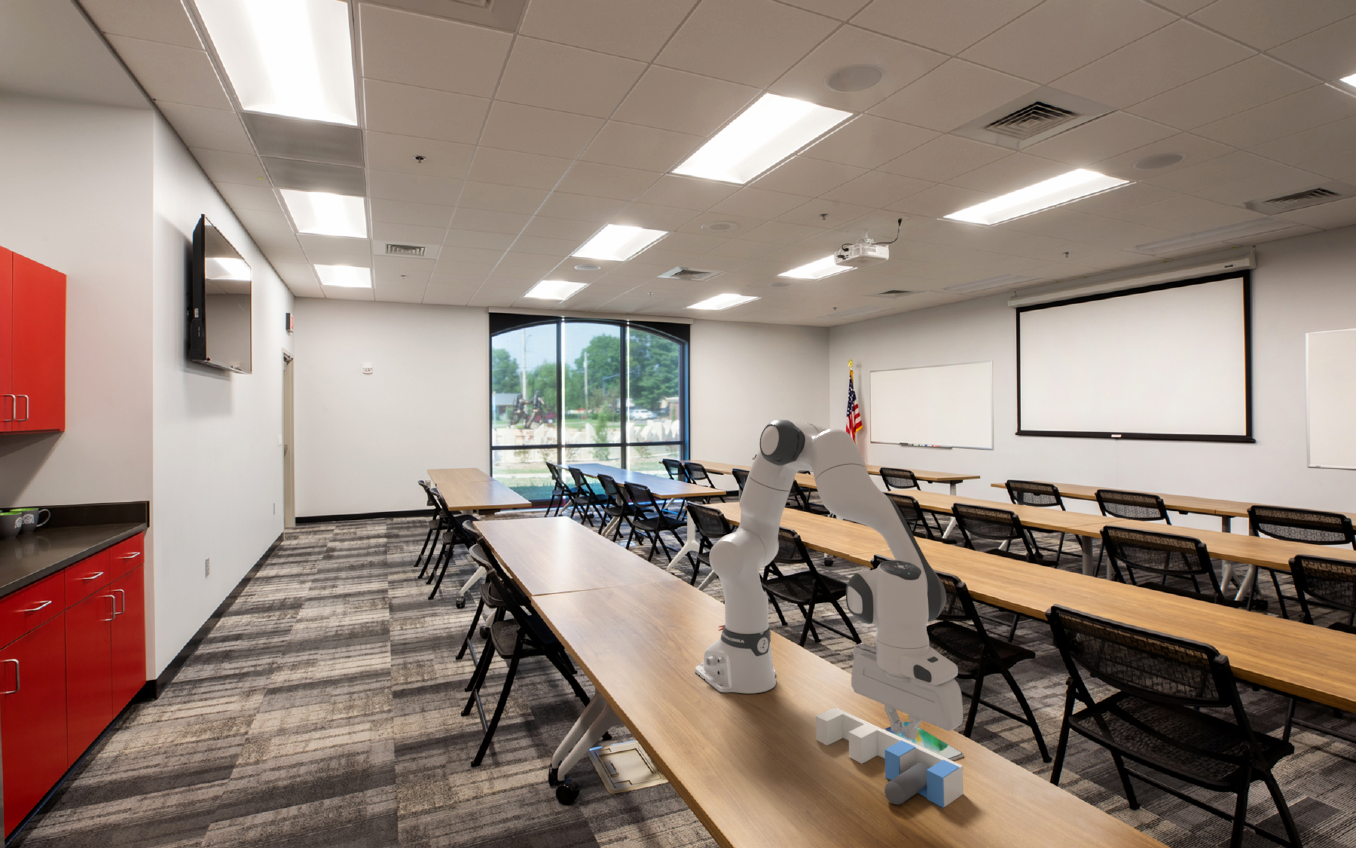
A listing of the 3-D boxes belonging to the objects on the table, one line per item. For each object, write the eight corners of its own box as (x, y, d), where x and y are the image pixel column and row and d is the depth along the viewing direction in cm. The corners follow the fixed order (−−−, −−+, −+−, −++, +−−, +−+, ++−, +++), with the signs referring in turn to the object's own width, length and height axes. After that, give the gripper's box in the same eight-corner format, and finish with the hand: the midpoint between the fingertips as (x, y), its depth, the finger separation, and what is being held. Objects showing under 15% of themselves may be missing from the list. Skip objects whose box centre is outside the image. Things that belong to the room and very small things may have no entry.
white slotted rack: (815, 740, 128) (814, 715, 128) (835, 730, 132) (834, 706, 132) (943, 808, 105) (942, 777, 105) (963, 793, 109) (962, 764, 109)
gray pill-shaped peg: (880, 801, 107) (880, 781, 107) (918, 775, 114) (918, 756, 114) (898, 812, 104) (898, 791, 104) (936, 785, 111) (936, 765, 111)
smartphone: (938, 763, 118) (882, 728, 132) (938, 768, 118) (882, 732, 132) (965, 753, 121) (908, 720, 135) (965, 758, 121) (908, 724, 135)
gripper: (843, 643, 115) (844, 717, 115) (946, 679, 98) (948, 765, 98) (864, 636, 118) (865, 707, 118) (967, 669, 102) (968, 752, 102)
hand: (903, 734), depth 108 cm, fingers closed
